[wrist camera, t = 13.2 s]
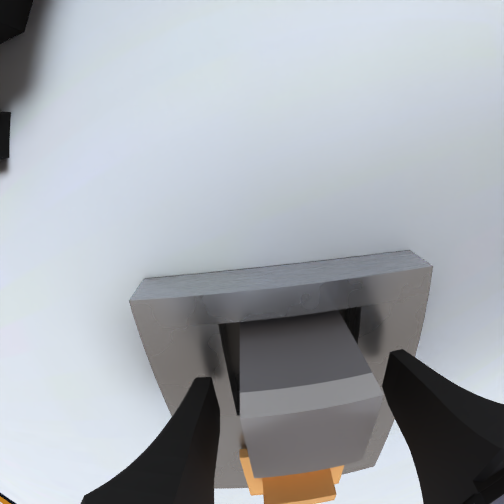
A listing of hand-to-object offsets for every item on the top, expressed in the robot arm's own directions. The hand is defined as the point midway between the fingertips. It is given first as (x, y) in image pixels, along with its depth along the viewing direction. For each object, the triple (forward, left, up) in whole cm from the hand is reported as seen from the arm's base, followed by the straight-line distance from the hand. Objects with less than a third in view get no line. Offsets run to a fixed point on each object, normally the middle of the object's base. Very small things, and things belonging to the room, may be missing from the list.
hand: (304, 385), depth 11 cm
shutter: (0, +9, -1) cm, 9 cm away
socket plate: (0, +4, -3) cm, 5 cm away
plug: (0, 0, -3) cm, 3 cm away
